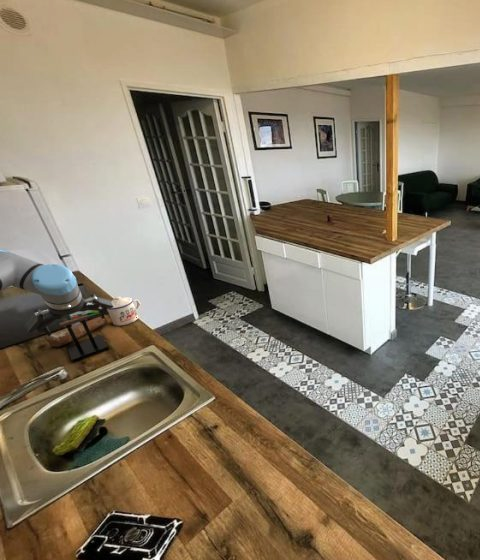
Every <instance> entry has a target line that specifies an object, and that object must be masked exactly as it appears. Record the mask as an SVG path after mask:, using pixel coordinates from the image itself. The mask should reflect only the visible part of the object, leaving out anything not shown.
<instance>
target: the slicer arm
mask: <svg viewBox="0 0 480 560" xmlns="http://www.w3.org/2000/svg"><path fill="white" fill-rule="evenodd" d="M67 320H68V319H67ZM83 320H90V316H89V317H88V315H85V316H82V317H78V318H75V319H72V320H71V319H69V320H68V321H65V322H64V321H62V322H59V326H60V327H61V328H63V327H64V326H67V325H70V326H71V327H74V326H77V325H80V324H81V321H83ZM64 328H65V327H64Z"/></svg>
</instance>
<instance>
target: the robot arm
mask: <svg viewBox="0 0 480 560" xmlns="http://www.w3.org/2000/svg"><path fill="white" fill-rule="evenodd" d="M10 287H14V288H18V289H21V290H24V291H28V292H31V293H32V294H33V293H34V294H36V295H39V296H40V297H41V298H42V300H43V301H44V303H45V305H46V306H47V309H44V310H41V309H39V308H38V309H35V310H33V314H32V316H31V317H30V318H29V320H28V321H27V322H26V323H25V324H24V327H25V328H26V331H27V332H28V333H33V332H35V330H36V331H38V332H39V333H44V332H45V334H46V336H50V335H51V334H52V333H51V331H50V329H49V327H48V326H49V325H51V323H53V322H55V321H56V320H60V319H62V318H63V317H64V316H69V314H73V313H76V312H78V311H83V312H85V311H87V310H92V311H99V315H100V316H99V317H101V318H102V319H104V318H106V316H105V313H109V312H108V310H107V308H112V307H113V305H112V303H111V301H112V300H110V299H107V298H103V297H100V296H97V295H96V294H90V296H89V297H88V298H84V297H83V295H82V292H81V289H80V287H79V285H78V280H77V277H76V275H74V273H73V272H72V271H71V269H70V268H69V267H68V266H64V265H62V264H58V263H57V264H55V263H54V264H51V263H49V264H44V263H41V262H38V261H36V260H32V259H31V258H30V259H29V258H26V257H24V256H21V255H19V254H16V253H15V252H11V251H6V250H3V249H0V292H1V291H4V290H6V289H8V288H10Z"/></svg>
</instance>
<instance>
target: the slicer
mask: <svg viewBox="0 0 480 560" xmlns="http://www.w3.org/2000/svg"><path fill="white" fill-rule="evenodd" d="M78 316H79V317H82V314H78ZM62 320H63V321H62V322H65V321H68V317H64V318H62ZM86 321H88V319H86V320H83V321H80V323H82V325H83V327H84V329H85V331H86V333H87V334H86V335H87V337H88V338H85V339H83V340H80V341H79V339H77V338H76V336H75V334H74V332H73V330H72V328H71V327H72V325H71V324H70V325H67V326H64V328H66V329H68V331H69V333H70V335H71V337H72V339H73V341H72V342H73V343H70V344H67V345H66V346H65V347H66V349H67V351H68V354H69V357H70V359H71V361H72V363H76V362H79V361H81V360H84V359H88V358H89V357H93V356H95V355H98V354H100V353H103V352H105V351H108V350H110V348H109V346H108V344H107V342H106V341H105V339H104V338H103V336H102V335H101V333H100V334H98V335H95V336H93V334H92V331H91V332H90V330H89V328H88V326H87V324H86Z"/></svg>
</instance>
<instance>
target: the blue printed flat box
mask: <svg viewBox="0 0 480 560" xmlns="http://www.w3.org/2000/svg"><path fill="white" fill-rule="evenodd" d="M78 314H82V316H85V315H88V317H89V318H90V317H91V316H95V315H98V314H99V311H92V310H87V311H85V312H83V311H78V312H76V313H73V314H69V315H68V316H69V318H70V320H72V319H75V318H78V317H79V316H78ZM99 315H100V314H99Z"/></svg>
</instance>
